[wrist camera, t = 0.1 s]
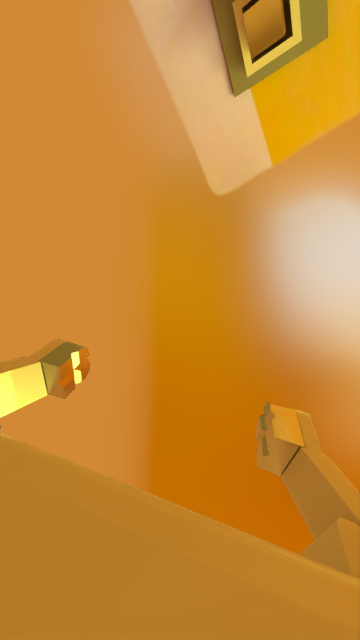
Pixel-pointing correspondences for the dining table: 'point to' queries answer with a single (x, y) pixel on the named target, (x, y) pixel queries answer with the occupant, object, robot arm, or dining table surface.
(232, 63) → the caddy
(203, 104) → the dining table surface
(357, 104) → the dining table surface
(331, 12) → the dining table surface
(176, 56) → the dining table surface
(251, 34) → the plug
